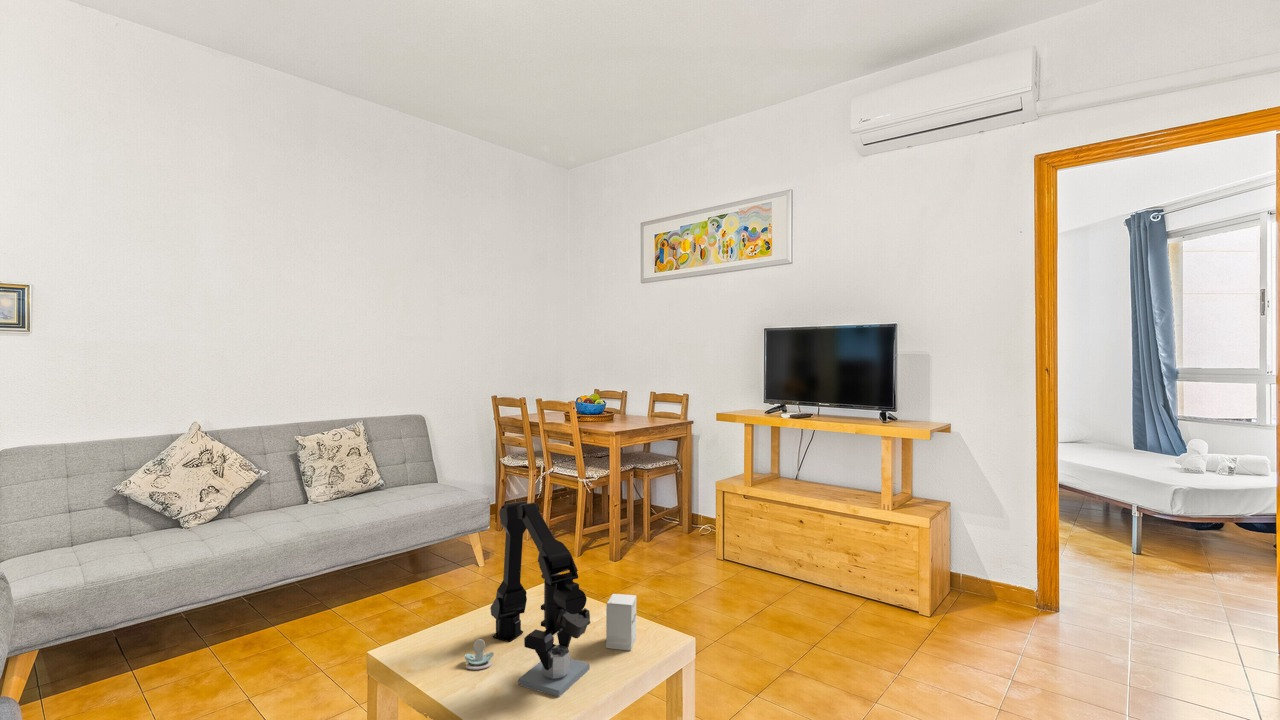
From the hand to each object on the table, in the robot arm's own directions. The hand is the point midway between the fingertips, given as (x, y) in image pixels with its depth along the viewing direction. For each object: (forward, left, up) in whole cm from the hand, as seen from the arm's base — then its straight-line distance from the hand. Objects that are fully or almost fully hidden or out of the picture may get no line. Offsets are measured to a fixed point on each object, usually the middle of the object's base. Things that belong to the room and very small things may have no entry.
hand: (555, 662), depth 148 cm
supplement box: (+6, +24, -4) cm, 25 cm away
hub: (0, 0, -2) cm, 2 cm away
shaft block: (-1, +1, -4) cm, 5 cm away
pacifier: (-22, -3, -5) cm, 23 cm away
